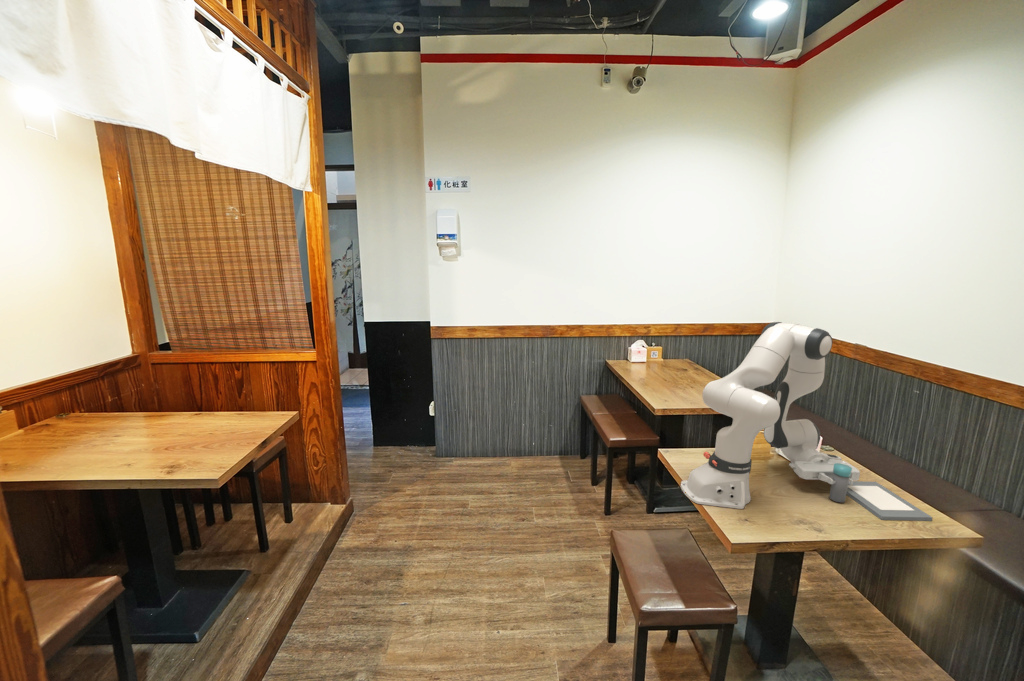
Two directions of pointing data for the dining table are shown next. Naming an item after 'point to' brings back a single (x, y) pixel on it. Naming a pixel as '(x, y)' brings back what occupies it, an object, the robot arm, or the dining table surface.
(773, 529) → the dining table surface
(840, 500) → the marker
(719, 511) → the dining table surface
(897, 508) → the writing board
